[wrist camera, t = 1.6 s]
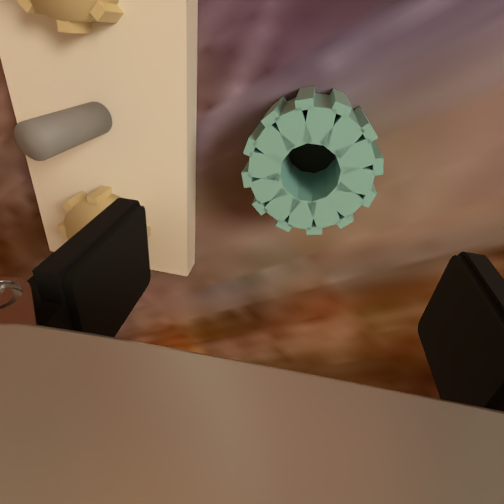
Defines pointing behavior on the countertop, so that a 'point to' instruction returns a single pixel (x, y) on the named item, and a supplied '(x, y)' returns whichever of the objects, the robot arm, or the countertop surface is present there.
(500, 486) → the robot arm
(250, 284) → the countertop surface
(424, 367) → the countertop surface
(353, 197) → the loose gear
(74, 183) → the gear board
